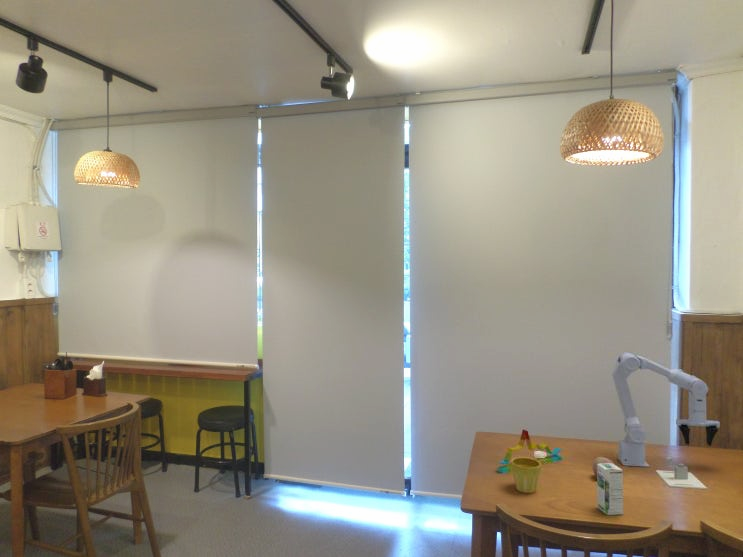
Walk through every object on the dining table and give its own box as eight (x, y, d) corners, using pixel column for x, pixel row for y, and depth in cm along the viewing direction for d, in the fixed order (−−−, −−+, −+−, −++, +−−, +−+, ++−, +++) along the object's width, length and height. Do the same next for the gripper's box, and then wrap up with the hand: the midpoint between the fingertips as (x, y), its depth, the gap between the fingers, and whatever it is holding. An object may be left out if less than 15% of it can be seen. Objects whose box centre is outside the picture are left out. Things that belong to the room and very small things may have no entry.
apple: (618, 484, 178) (617, 462, 178) (595, 482, 180) (595, 461, 180) (612, 475, 186) (611, 454, 186) (590, 474, 187) (590, 453, 187)
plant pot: (541, 485, 179) (541, 458, 179) (541, 497, 169) (541, 469, 169) (512, 481, 182) (511, 455, 182) (510, 493, 172) (509, 465, 172)
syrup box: (596, 507, 161) (595, 463, 161) (613, 506, 161) (613, 462, 161) (606, 515, 155) (605, 470, 155) (624, 514, 156) (623, 469, 156)
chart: (555, 458, 205) (555, 422, 205) (561, 460, 202) (561, 424, 202) (497, 471, 193) (496, 433, 193) (502, 474, 190) (502, 435, 190)
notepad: (669, 486, 175) (669, 485, 175) (655, 471, 189) (655, 470, 189) (706, 489, 173) (706, 487, 173) (690, 473, 186) (690, 472, 186)
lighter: (685, 477, 182) (685, 455, 182) (688, 479, 180) (687, 457, 180) (665, 477, 182) (665, 455, 182) (668, 479, 181) (668, 457, 181)
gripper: (680, 411, 189) (681, 446, 189) (723, 413, 185) (723, 449, 186) (673, 406, 196) (674, 440, 196) (714, 408, 192) (715, 442, 192)
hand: (697, 444), depth 191 cm, fingers open, 7 cm apart
